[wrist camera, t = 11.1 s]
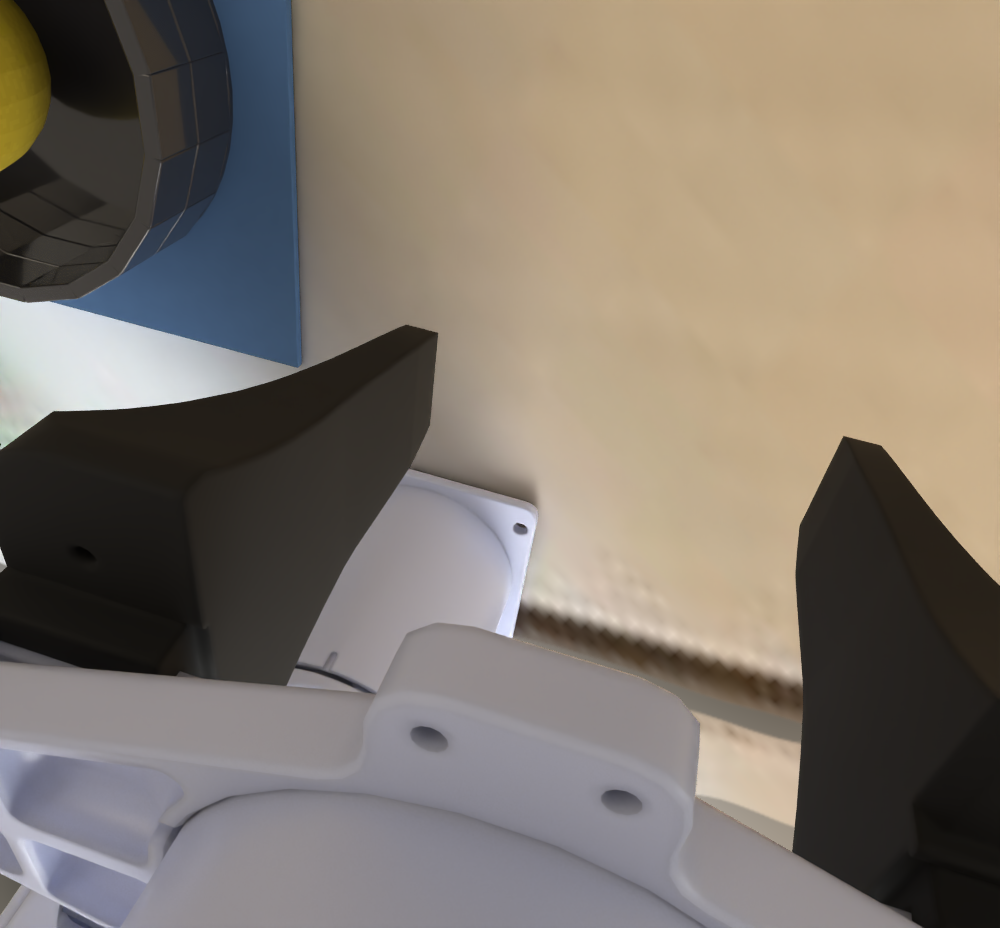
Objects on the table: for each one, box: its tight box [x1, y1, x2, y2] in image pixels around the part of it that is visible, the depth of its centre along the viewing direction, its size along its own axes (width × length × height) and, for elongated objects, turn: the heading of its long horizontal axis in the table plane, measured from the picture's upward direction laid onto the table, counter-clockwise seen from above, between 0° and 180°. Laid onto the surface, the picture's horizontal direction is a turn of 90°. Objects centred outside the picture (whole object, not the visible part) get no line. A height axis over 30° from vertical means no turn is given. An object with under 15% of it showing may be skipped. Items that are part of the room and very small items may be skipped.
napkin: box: [51, 0, 302, 368], centre depth 23 cm, size 17×16×1 cm
